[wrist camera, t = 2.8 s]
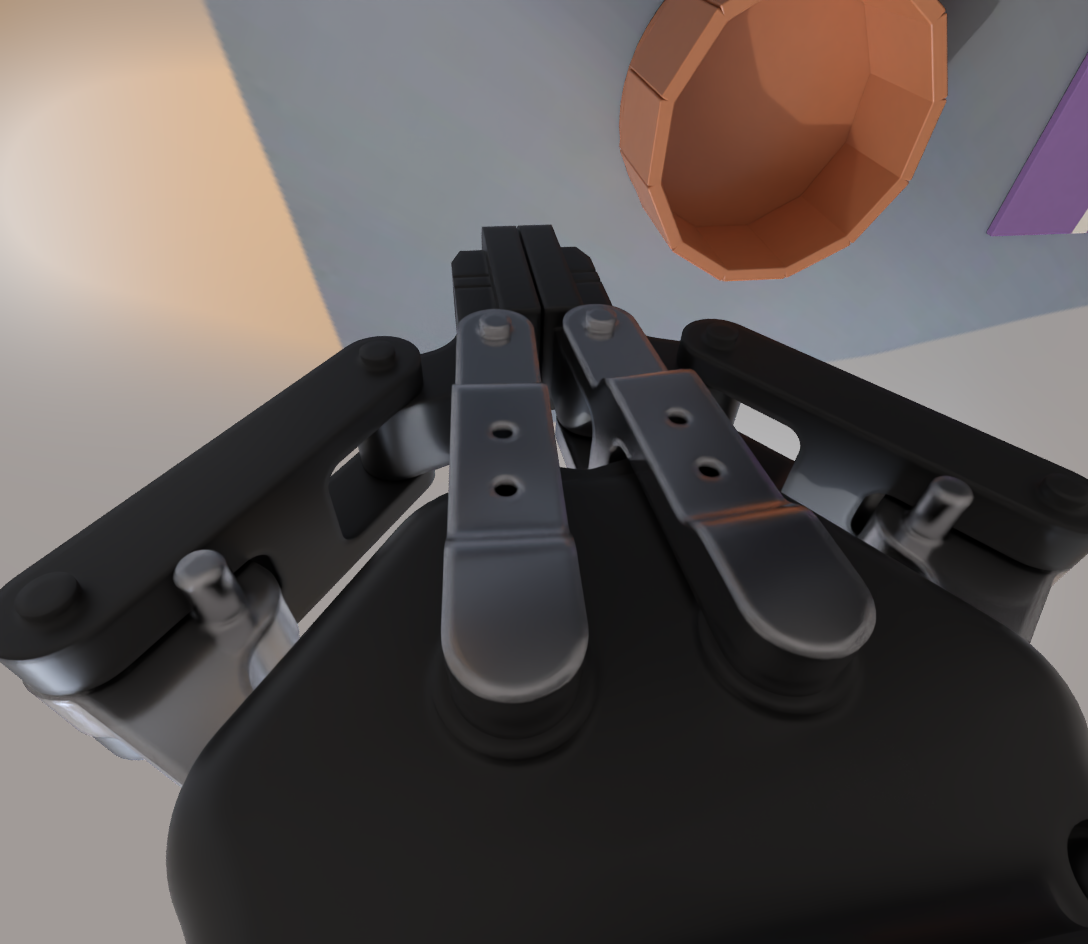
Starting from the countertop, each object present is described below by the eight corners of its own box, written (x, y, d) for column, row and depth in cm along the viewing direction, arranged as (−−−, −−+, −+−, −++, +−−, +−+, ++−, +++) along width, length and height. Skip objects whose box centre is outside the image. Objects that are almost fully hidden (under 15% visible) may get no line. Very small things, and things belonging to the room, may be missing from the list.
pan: (682, -451, 15) (758, -537, 11) (1045, -405, 16) (1206, -469, 13) (605, 235, 26) (632, 287, 23) (817, 228, 28) (870, 276, 25)
